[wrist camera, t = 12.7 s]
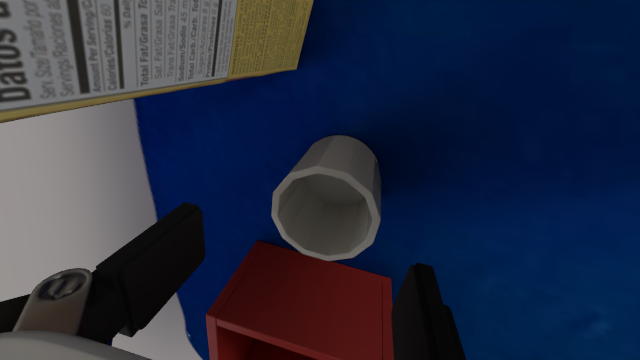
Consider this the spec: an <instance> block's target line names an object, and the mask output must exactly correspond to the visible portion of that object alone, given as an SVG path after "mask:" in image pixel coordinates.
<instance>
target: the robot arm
mask: <svg viewBox="0 0 640 360" xmlns="http://www.w3.org/2000/svg"><path fill="white" fill-rule="evenodd" d="M204 257H205V244H204V230H203V216H202V210H200V208H199V206H197V205H194V204H190V203H183V204H181V205H180V206H178V207H177V208H176V209H174V210H173V211H172V212H170V213H169V214H167V215H166V216H165V217H163V218H162V219H161V220H159V221H158V222H156V223H155V224H154V225H152V226H151V227H149V228H148V229H147V230H145V231H144V232H143V233H141V234H140V235H138V236H137V237H136V238H134V239H133V240H132V241H130V242H129V243H128V244H126V245H125V246H123V247H122V248H121V249H119V250H118V251H116V252H115V253H114V254H112V255H111V256H110V257H108V258H107V259H105V260H104V261H103V262H101V263H100V264H99V265H97V266H96V270H95V271H93V272H92V273H91V272H90V271H89V270H87V269H82V268H75V269H68V270H65V271H61V272H58V273H56V274H54V275H52V276H50V277H48V278H46V279H45V280H43V281H42V282H41V283H40V284H38V285H37V286H36V287H35V289H34V290H33V291H32V293H31V294H28V295H25V296H21V297H17V298H13V299H9V300H6V301H2V302H0V360H151V359H148V358H145V357H142V356H139V355H136V354H134V353H131V352H128V351H125V350H122V349H118V348H115V347H112V340H113V338H114V337H115V335H116V334H117V333H118V332H119V333H120V334H123V335H126V336H129V337H133V336H134V335H135V333H136V332H137V331H138V330H141V329H143V328H144V327H146V326H147V324H148V323H149V322H150V321H151V320H152V319H153V317H154V316H155V315H156V314H157V313H158V312H159V311H160V310H161V308H162V307H163V306H164V305H165V304H166V303H167V302H168V300H169V299H170V298H171V297H172V296H173V295H174V294H175V292H176V291H177V290H178V289H179V288H180V287H181V286H182V284H183V283H184V282H185V281H186V280H187V279H188V278H189V276H190V275H191V274H192V273H193V272H194V271H195V270H196V268H197V267H198V266H199V265H200V264H201V263H202V261H203V260H204ZM391 321H392V337H393V354H394V360H466V358H465V354H464V351H463V348H462V345H461V341H460V338H459V335H458V331H457V328H456V325H455V322H454V318H453V315H452V312H451V310H450V308H449V307H448V306H447V305H443V301H442V298H441V294H440V291H439V287H438V284H437V280H436V276H435V273H434V269H433V267H432V266H429V265H425V264H421V263H416V265H415V266H414V265H411V266H410V268H409V271H408V273H407V275H406V277H405V280H404V282H403V284H402V287H401V289H400V291H399V293H398V296H397V298H396V300H395V303H394V305H393V307H392V312H391Z"/></svg>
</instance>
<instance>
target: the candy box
mask: <svg viewBox="0 0 640 360" xmlns="http://www.w3.org/2000/svg"><path fill="white" fill-rule="evenodd" d="M312 5H313V0H0V123H4V122H8V121H14V120H19V119H24V118H29V117H34V116H39V115H45V114H50V113H56V112H61V111H67V110H72V109H78V108H83V107H88V106H94V105H100V104H105V103H111V102H116V101H122V100H127V99H133V98H138V97H144V96H150V95H156V94H162V93H167V92H173V91H179V90H185V89H190V88H196V87H202V86H207V85H213V84H219V83H224V82H229V81H234V80H240V79H245V78H250V77H257V76H264V75H268V74H272V73H278V72H283V71H290V70H295V69H297V64H298V60H299V56H300V52H301V48H302V44H303V40H304V36H305V32H306V28H307V24H308V20H309V16H310V13H311V9H312Z"/></svg>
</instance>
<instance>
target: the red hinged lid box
mask: <svg viewBox="0 0 640 360" xmlns="http://www.w3.org/2000/svg"><path fill="white" fill-rule="evenodd" d="M391 312H392V291H391V278H388V277H384V276H381V275H377V274H374V273H370V272H367V271H363V270H360V269H356V268H353V267H349V266H346V265H342V264H339V263H335V262H332V261H326V260H322V259H319V258H315V257H312V256H308V255H305V254H302V253H300V252H296V251H293V250H289V249H286V248H282V247H279V246H275V245H272V244H268V243H265V242H261V241H258V240H257V241H256V243H255V244H254V246H253V247H252V249H251V250H250V252H249V253H248V254H247V256H246V257H245V259H244V260H243V262H242V263H241V265H240V266H239V267H238V269H237V270H236V272H235V273H234V275H233V276H232V278H231V279H230V280H229V282H228V283H227V285H226V286H225V288H224V289H223V291H222V292H221V293H220V295H219V296H218V298H217V299H216V301H215V302H214V304H213V305H212V306H211V308H210V309H209V311H208V312H207V314H206V324H207V334H208V344H209V355H210V360H394V354H393V337H392V321H391Z"/></svg>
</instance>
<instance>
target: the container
mask: <svg viewBox="0 0 640 360" xmlns="http://www.w3.org/2000/svg"><path fill="white" fill-rule="evenodd" d="M271 216H272V218H273V220H274V222H275V224H276V226H277V228H278V230H279V232H280V234H281V236H282V238H283V239H284V240H286V241H287V242H288V243H289V244H291V245H292V246H293V247H295V248H296V249H297V250H298V251H300V252H301V253H302V254H305V255H308V256H312V257H315V258H319V259H322V260H326V261H333V260H340V259H348V258H353V257H355V256H356V255H358V254H359V253H360V252H362V251H363V250H365V249H366V248H367V247H369V246H370V245H371V244H373V242H374V239H375V236H376V233H377V230H378V227H379V224H380V221H381V174H380V171H379V165H378V162H377V159H376V157H375V155H374V154H373V152H372V151H371V150H370V149H369V148H368V147H367V146H366V145H365V144H364V143H362V142H360V141H359V140H357V139H354V138H352V137H348V136H342V135H335V136H329V137H325V138H323V139H321V140H319V141H317V142H315V143H314V144H313V145H312V146H311V147H310V148H309V150H308V151H307V152H306V153H305V154H304V155H303V157H302V158H301V159H300V160H299V161H298V163H297V164H296V165H295V166H294V168H293V169H292V170H291V171H290V172H289V174H288V175H287V176H286V177H285V178H284V180H283V181H282V182H281V183H280V185H279V186H278V187H277V188H276V189H275V191H274V192H273V200H272V214H271Z"/></svg>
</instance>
